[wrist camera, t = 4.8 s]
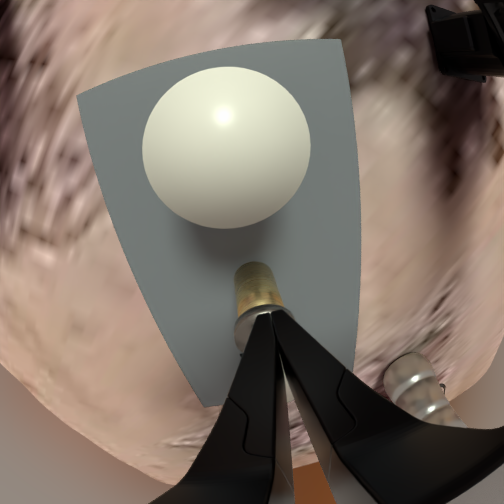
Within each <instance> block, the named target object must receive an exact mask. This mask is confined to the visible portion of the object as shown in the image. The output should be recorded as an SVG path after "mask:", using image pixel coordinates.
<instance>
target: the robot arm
mask: <svg viewBox="0 0 504 504" xmlns="http://www.w3.org/2000/svg"><path fill="white" fill-rule="evenodd" d="M474 1H475V3H476V4H477V5H478V6H479V8H480V10H474V11H468V12H462V13H454V12H452V11H449V10H446V9H443V8H440V7H437V6H434V5H428V6H426V10H427V14H428V17H429V21H430V25H431V29H432V33H433V38H434V43H435V47H436V53H437V58H438V64H439V69H440V72H441V73H442V74H443V75H447V76H453V77H458V78H463V79H468V80H473V81H477V82H482V83H485V82H486V76H495V77H504V0H474ZM431 9H432V10H431ZM444 68H445V69H444ZM272 323H273V324H272ZM277 344H278V345H277ZM281 361H282V362H281ZM282 365H283V366H282ZM283 370H284V371H283ZM284 373H285V376H286V379H287V382H288V385H289V387H290V390H291V392H292V395H293V397H294V400H295V402H296V405H297V407H298V410H299V412H300V415H301V417H302V420H303V422H304V425H305V427H306V430H307V432H308V435H309V437H310V440H311V442H312V445H313V447H314V450H315V452H316V455H317V457H318V460H319V462H320V465H321V467H322V470H323V472H324V474H325V477H326V479H327V481H328V483H329V487H330V489H331V491H332V494H333V496H334V499H335V501H336V503H337V504H504V426H502V427H500V428H495V429H474V428H463V427H454V426H446V425H438V424H432V423H428V422H425V421H422V420H420V419H418V418H416V417H414V416H413V415H411V414H409V413H408V412H406V411H405V410H403V409H402V408H400V407H398V406H397V405H395V404H394V403H392V402H391V401H389V400H388V399H386V398H385V397H383V396H382V395H380V394H379V393H377V392H376V391H374V390H373V389H372V388H370V387H369V386H367V385H366V384H365V383H364V382H363V381H361V380H360V379H359V378H358V377H357V376H355V375H354V374H353V373H352V372H351V371H350V370H349V369H346V367H345V366H344V365H343V364H342V363H341V362H340V361H339V360H338V359H336V358H335V357H334V356H333V355H332V354H331V353H330V352H329V351H328V350H327V349H326V348H324V347H323V346H322V345H321V344H320V343H319V342H318V341H317V340H316V339H315V338H314V337H312V336H311V335H310V334H309V333H308V332H307V331H306V330H305V329H304V328H303V327H302V326H301V325H299V324H298V323H297V322H296V321H295V320H294V319H293V318H292V317H291V316H290V315H289V314H288V313H287V312H286V311H284V310H283V309H279V310H275V311H272V312H271V313H269V312H267V313H263V314H258V315H257V316H256V319H255V322H254V324H253V327H252V330H251V333H250V335H249V338H248V341H247V344H246V346H245V349H244V352H243V354H242V357H241V360H240V363H239V365H238V368H237V371H236V373H235V376H234V379H233V381H232V384H231V387H230V389H229V392H228V394H227V398H226V399H225V402H224V405H223V407H222V410H221V412H220V414H219V417H218V419H217V421H216V423H215V425H214V427H213V429H212V431H211V433H210V435H209V436H208V438H207V440H206V442H205V443H204V445H203V447H202V449H201V450H200V452H199V454H198V455H197V457H196V459H195V460H194V462H193V464H192V465H191V467H190V469H189V470H188V472H187V473H186V475H185V476H184V477H183V478H182V479H181V480H180V482H178V483H177V484H176V485H175V486H174V487H172V488H171V489H170V490H168V491H167V492H165V493H164V494H162V495H161V496H159V497H158V498H156V499H155V500H153V501H152V502H150V503H148V504H295V500H294V485H293V470H292V456H291V443H290V431H289V419H288V407H287V396H286V385H285V376H284Z"/></svg>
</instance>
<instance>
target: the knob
mask: <svg viewBox="0 0 504 504" xmlns="http://www.w3.org/2000/svg"><path fill="white" fill-rule="evenodd" d="M310 148H311V144H310V133H309V129H308V124H307V122H306V119H305V116H304V114H303V112H302V110H301V108H300V106H299V105H298V103H297V102H296V100H295V99H294V98H293V96H292V95H291V94H290V93H289V92H288V91H287V90H286V89H285V88H284V87H283V86H281V85H280V84H279V83H278V82H276V81H275V80H273V79H271V78H270V77H268V76H266V75H264V74H261V73H259V72H257V71H253V70H250V69H246V68H239V67H217V68H210V69H206V70H203V71H199V72H197V73H194V74H192V75H190V76H188V77H186V78H184V79H183V80H181V81H179V82H178V83H176V84H175V85H174V86H173V87H171V88H170V89H169V90H168V91H167V92H166V93H165V94H164V95H163V96H162V97H161V99H160V100H159V101H158V103H157V104H156V106H155V107H154V109H153V111H152V112H151V114H150V116H149V119H148V121H147V124H146V127H145V131H144V136H143V144H142V155H143V163H144V168H145V172H146V175H147V177H148V180H149V182H150V184H151V186H152V188H153V190H154V191H155V193H156V194H157V196H158V197H159V198H160V199H161V201H162V202H163V203H164V204H165V205H166V206H167V207H168V208H170V209H171V210H172V211H173V212H174V213H176V214H177V215H179V216H181V217H182V218H184V219H186V220H188V221H190V222H192V223H195V224H198V225H201V226H205V227H210V228H219V229H230V228H239V227H244V226H248V225H251V224H254V223H257V222H259V221H262V220H264V219H266V218H267V217H269V216H271V215H273V214H274V213H275V212H277V211H278V210H280V209H281V208H282V207H283V206H284V205H285V204H286V203H287V202H288V201H289V200H290V199H291V198H292V196H293V195H294V194H295V193H296V191H297V189H298V188H299V186H300V185H301V183H302V181H303V179H304V176H305V174H306V171H307V168H308V164H309V159H310Z"/></svg>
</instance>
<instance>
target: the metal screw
mask: <svg viewBox="0 0 504 504" xmlns="http://www.w3.org/2000/svg"><path fill="white" fill-rule="evenodd" d="M234 287H235V295H236V303H237V311H238V319H237V320H236V322H235V325H234V339H235V344H236V346H237V348H238V349H239V350H240V351H241V352H242V353H243V352H244V349H245V346H246V344H247V341H248V338H249V335H250V333H251V330H252V327H253V324H254V322H255V319H256V316H257V315H258V314H263V313H267V312H269V313H271V312H272V311H275V310H279V309H283V310H284V311H286V312H287V313H288V314H289V315H290V316H291V317H292V318H293V319H294V320H295V317H294V315H293V314H292V312H291V311H290V310H288V309H287V308H285V307H284V304H283V301H282V298H281V295H280V292H279V290H278V287H277V284H276V281H275V278H274V275H273V272H272V270H271V268H270V267H269V266H268V265H266V264H264V263H262V262H256V261H254V262H248V263H246V264H244V265H242V266H240V267H239V268H238V270H237V271H236V272H235V275H234ZM295 321H296V320H295ZM272 324H273V323H272ZM277 345H278V344H277Z"/></svg>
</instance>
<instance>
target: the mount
mask: <svg viewBox="0 0 504 504" xmlns="http://www.w3.org/2000/svg"><path fill="white" fill-rule="evenodd" d="M217 67H239V68H246V69H250V70H253V71H257V72H259V73H261V74H264V75H266V76H268V77H270V78H271V79H273V80H275V81H276V82H278V83H279V84H280V85H281V86H283V87H284V88H285V89H286V90H287V91H288V92H289V93H290V94H291V95H292V96H293V98H294V99H295V100H296V102H297V103H298V105H299V106H300V108H301V110H302V112H303V114H304V116H305V119H306V122H307V124H308V129H309V133H310V144H311V148H310V159H309V164H308V168H307V171H306V174H305V176H304V179H303V181H302V183H301V185H300V186H299V188H298V189H297V191H296V193H295V194H294V195H293V196H292V198H291V199H290V200H289V201H288V202H287V203H286V204H285V205H284V206H283V207H282V208H281V209H280V210H278V211H277V212H275V213H274V214H273V215H271V216H269V217H267V218H266V219H264V220H262V221H259V222H257V223H254V224H251V225H248V226H244V227H239V228H230V229H219V228H210V227H205V226H201V225H198V224H195V223H192V222H190V221H188V220H186V219H184V218H182V217H181V216H179V215H177V214H176V213H174V212H173V211H172V210H171V209H170V208H168V207H167V206H166V205H165V204H164V203H163V202H162V201H161V199H160V198H159V197H158V196H157V194H156V193H155V191H154V190H153V188H152V186H151V184H150V182H149V180H148V177H147V175H146V172H145V168H144V163H143V155H142V144H143V136H144V131H145V127H146V124H147V121H148V119H149V116H150V114H151V112H152V111H153V109H154V107H155V106H156V104H157V103H158V101H159V100H160V99H161V97H162V96H163V95H164V94H165V93H166V92H167V91H168V90H169V89H170V88H171V87H173V86H174V85H175V84H176V83H178V82H179V81H181V80H183V79H184V78H186V77H188V76H190V75H192V74H194V73H197V72H199V71H203V70H206V69H210V68H217ZM77 101H78V106H79V111H80V115H81V119H82V124H83V128H84V132H85V136H86V140H87V144H88V147H89V151H90V155H91V158H92V162H93V165H94V169H95V172H96V175H97V178H98V182H99V185H100V188H101V191H102V194H103V197H104V200H105V203H106V206H107V209H108V211H109V214H110V217H111V220H112V223H113V225H114V228H115V231H116V233H117V236H118V238H119V241H120V243H121V246H122V249H123V251H124V253H125V256H126V258H127V261H128V263H129V265H130V268H131V270H132V272H133V275H134V277H135V279H136V282H137V284H138V286H139V288H140V290H141V293H142V295H143V297H144V299H145V301H146V303H147V305H148V307H149V309H150V312H151V314H152V316H153V318H154V320H155V322H156V324H157V326H158V328H159V330H160V331H161V333H162V335H163V337H164V339H165V341H166V343H167V345H168V347H169V349H170V350H171V352H172V354H173V356H174V358H175V359H176V361H177V363H178V365H179V367H180V368H181V370H182V372H183V373H184V375H185V377H186V379H187V380H188V382H189V384H190V385H191V387H192V389H193V390H194V392H195V394H196V395H197V397H198V398H199V400H200V402H201V403H202V405H203V406H204V407H210V406H218V405H224V402H225V399H226V398H227V394H228V392H229V389H230V387H231V384H232V381H233V379H234V376H235V373H236V371H237V368H238V365H239V363H240V360H241V357H242V354H243V353H242V352H241V351H240V350H239V349H238V348H237V346H236V344H235V339H234V325H235V322H236V320H237V319H238V311H237V303H236V295H235V287H234V275H235V272H236V271H237V270H238V268H239V267H240V266H242V265H244V264H246V263H248V262H254V261H256V262H262V263H264V264H266V265H268V266H269V267H270V268H271V270H272V272H273V275H274V278H275V281H276V284H277V287H278V290H279V292H280V295H281V298H282V301H283V304H284V307H285V308H287V309H288V310H290V311H291V312H292V314H293V315H294V317H295V320H296V322H297V323H298V324H299V325H301V326H302V327H303V328H304V329H305V330H306V331H307V332H308V333H309V334H310V335H311V336H312V337H314V338H315V339H316V340H317V341H318V342H319V343H320V344H321V345H322V346H323V347H324V348H326V349H327V350H328V351H329V352H330V353H331V354H332V355H333V356H334V357H335V358H336V359H338V360H339V361H340V362H341V363H342V364H343V365H344V366H345V367H346V369H349V370H350V371H351V372H352V373H353V365H354V357H355V348H356V338H357V327H358V314H359V298H360V276H361V204H360V182H359V166H358V153H357V142H356V133H355V124H354V115H353V108H352V100H351V94H350V87H349V81H348V75H347V69H346V64H345V59H344V53H343V48H342V44H341V39H305V40H286V41H274V42H264V43H255V44H248V45H241V46H234V47H228V48H223V49H217V50H212V51H207V52H203V53H198V54H194V55H190V56H186V57H182V58H178V59H174V60H170V61H167V62H163V63H160V64H157V65H153V66H150V67H147V68H144V69H141V70H138V71H135V72H132V73H129V74H127V75H124V76H121V77H119V78H116V79H113V80H111V81H108V82H106V83H103V84H101V85H99V86H96V87H94V88H92V89H89V90H87V91H85V92H83V93H81V94H79V95H77Z"/></svg>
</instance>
